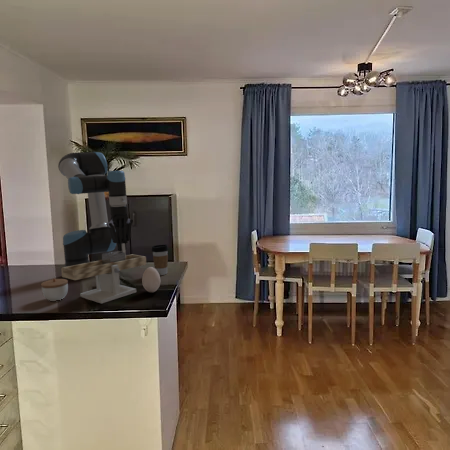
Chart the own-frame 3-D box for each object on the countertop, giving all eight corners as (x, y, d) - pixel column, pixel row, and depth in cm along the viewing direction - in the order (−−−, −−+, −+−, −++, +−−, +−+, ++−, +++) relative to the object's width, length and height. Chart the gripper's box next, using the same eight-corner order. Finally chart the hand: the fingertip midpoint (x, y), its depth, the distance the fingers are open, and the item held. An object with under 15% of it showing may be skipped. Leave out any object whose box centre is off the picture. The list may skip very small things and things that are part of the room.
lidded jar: (47, 296, 183) (45, 275, 182) (72, 294, 184) (70, 274, 183) (39, 304, 173) (36, 282, 171) (65, 302, 174) (63, 281, 172)
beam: (74, 280, 164) (74, 270, 163) (61, 276, 170) (61, 267, 170) (146, 264, 191) (145, 256, 191) (132, 261, 197) (132, 253, 197)
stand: (101, 303, 170) (98, 270, 168) (80, 296, 181) (77, 265, 179) (136, 292, 184) (134, 261, 182) (114, 286, 194) (112, 257, 192)
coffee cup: (166, 276, 208) (164, 247, 206) (150, 275, 210) (148, 247, 208) (172, 271, 216) (170, 243, 214) (156, 271, 218) (154, 243, 216)
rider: (110, 266, 178) (109, 255, 178) (102, 265, 182) (101, 253, 182) (125, 263, 184) (125, 252, 184) (117, 261, 188) (117, 251, 188)
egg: (145, 296, 178) (143, 270, 176) (141, 291, 185) (139, 266, 183) (163, 293, 181) (161, 267, 179) (158, 288, 188) (156, 264, 187)
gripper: (111, 207, 176) (115, 261, 179) (135, 204, 186) (139, 255, 189) (101, 207, 181) (105, 259, 184) (125, 203, 191) (129, 253, 194)
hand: (122, 257), depth 187 cm, fingers closed
